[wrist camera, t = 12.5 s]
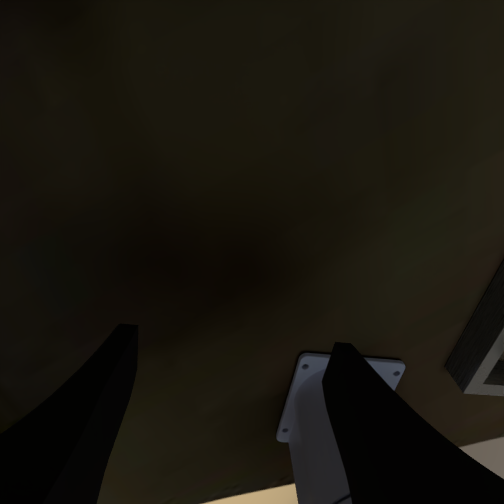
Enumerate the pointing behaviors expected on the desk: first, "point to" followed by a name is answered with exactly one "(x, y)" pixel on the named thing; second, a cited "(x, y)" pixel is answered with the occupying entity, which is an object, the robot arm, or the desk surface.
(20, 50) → the desk surface
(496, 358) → the collar
